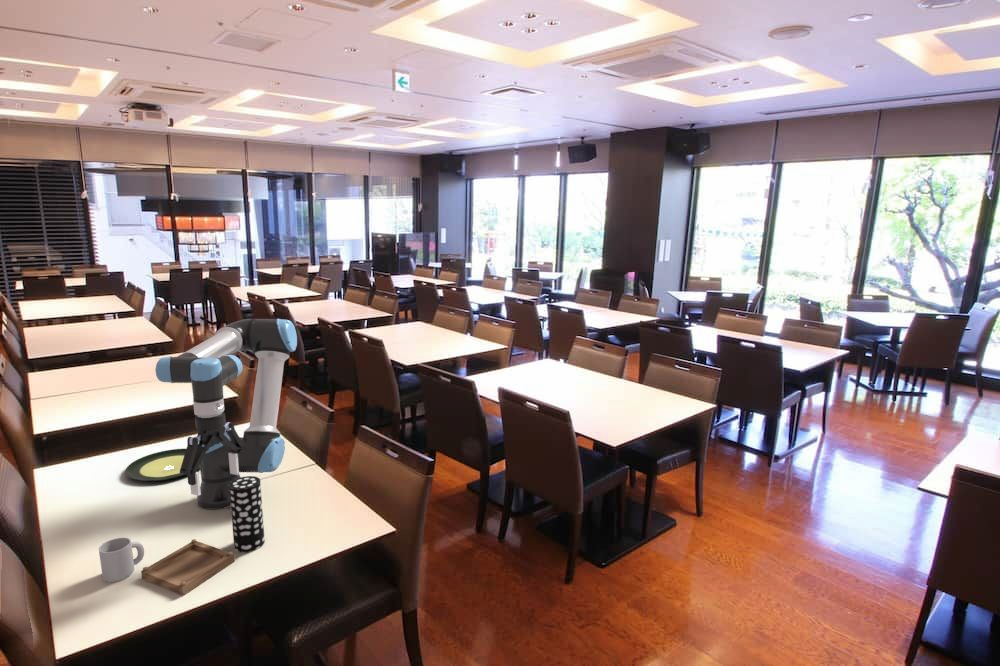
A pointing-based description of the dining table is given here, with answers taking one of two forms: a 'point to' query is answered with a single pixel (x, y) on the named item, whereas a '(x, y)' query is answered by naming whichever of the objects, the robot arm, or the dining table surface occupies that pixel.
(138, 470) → the plate
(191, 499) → the dining table surface
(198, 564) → the wooden tray
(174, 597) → the dining table surface
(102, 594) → the dining table surface
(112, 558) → the cup
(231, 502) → the white-spotted black cylinder
